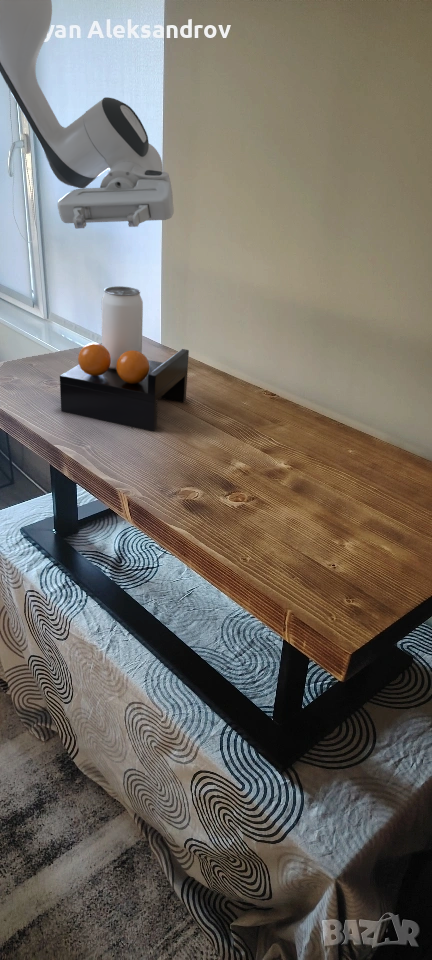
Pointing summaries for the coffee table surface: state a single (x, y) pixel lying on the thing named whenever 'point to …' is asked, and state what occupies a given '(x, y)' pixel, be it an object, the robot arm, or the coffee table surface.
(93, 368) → the rack
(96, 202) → the robot arm
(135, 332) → the can
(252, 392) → the coffee table surface
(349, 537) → the coffee table surface
